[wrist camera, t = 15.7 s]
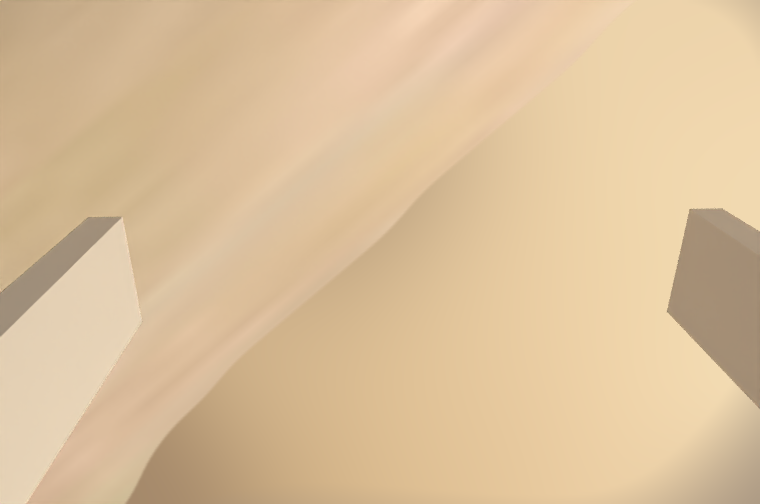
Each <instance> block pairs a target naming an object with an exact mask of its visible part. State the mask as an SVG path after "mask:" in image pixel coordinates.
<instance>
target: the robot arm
mask: <svg viewBox="0 0 760 504" xmlns="http://www.w3.org/2000/svg"><path fill="white" fill-rule="evenodd" d="M667 312H668V313H669V314H670V315H671V316H672V317H673V318H674V319H675V321H676V322H677V323H678V324H679V325H680V326H681V327H682V328H683V329H684V330H685V331H686V332H687V333H688V334H689V335H690V336H691V337H692V338H693V339H694V340H695V341H696V342H697V344H698V345H699V346H700V347H701V348H702V349H703V350H704V351H705V352H706V353H707V354H708V355H709V356H710V357H711V358H712V359H713V360H714V361H715V362H716V364H717V365H718V366H720V368H721V369H722V370H723V371H724V372H725V373H726V374H727V375H728V376H729V377H730V378H731V379H732V380H733V381H734V382H735V383H736V384H737V386H739V387H740V389H741V390H742V391H743V392H744V393H745V394H746V395H747V396H748V397H749V398H750V399H751V400H752V401H753V402H754V403H755V404H756V405H757V406H758V407H759V408H760V232H759V231H758V230H756V229H755V228H753V227H751V226H750V225H748V224H746V223H745V222H743V221H741V220H740V219H738V218H736V217H735V216H733V215H732V214H730V213H728V212H727V211H725V210H723V209H690V210H689V215H688V219H687V224H686V228H685V233H684V237H683V242H682V247H681V251H680V255H679V260H678V264H677V269H676V273H675V278H674V283H673V287H672V291H671V296H670V300H669V305H668V309H667ZM141 323H142V318H141V313H140V307H139V302H138V297H137V291H136V286H135V281H134V275H133V270H132V265H131V259H130V254H129V249H128V244H127V238H126V233H125V228H124V222H123V217H88V218H87V219H86V220H85V221H83V222H82V223H81V224H80V225H79V226H78V227H76V228H75V229H74V230H73V231H72V232H71V233H69V234H68V235H67V236H66V237H65V238H64V239H63V240H61V241H60V242H59V243H58V244H57V245H56V246H54V247H53V248H52V249H51V250H50V251H49V252H47V253H46V254H45V255H44V256H43V257H42V258H40V259H39V260H38V261H37V262H36V263H35V264H33V265H32V266H31V267H30V268H29V269H28V270H27V271H25V272H24V273H23V274H22V275H21V276H20V277H18V278H17V279H16V280H15V281H14V282H13V283H11V284H10V285H9V286H8V287H7V288H6V289H4V290H3V291H2V292H1V293H0V504H26V503H27V502H28V500H29V499H30V497H31V495H32V494H33V492H34V491H35V489H36V488H37V486H38V484H39V483H40V481H41V480H42V478H43V477H44V475H45V473H46V472H47V470H48V469H49V467H50V466H51V464H52V463H53V461H54V459H55V458H56V456H57V455H58V453H59V452H60V450H61V448H62V447H63V445H64V444H65V442H66V441H67V439H68V437H69V436H70V434H71V433H72V431H73V430H74V428H75V426H76V425H77V423H78V422H79V420H80V419H81V417H82V416H83V414H84V412H85V411H86V409H87V408H88V406H89V405H90V403H91V401H92V400H93V398H94V397H95V395H96V394H97V392H98V390H99V389H100V387H101V386H102V384H103V383H104V381H105V379H106V378H107V376H108V375H109V373H110V372H111V370H112V369H113V367H114V365H115V364H116V362H117V361H118V359H119V358H120V356H121V354H122V353H123V351H124V350H125V348H126V347H127V345H128V343H129V342H130V340H131V339H132V337H133V336H134V334H135V332H136V331H137V329H138V328H139V326H140V325H141Z"/></svg>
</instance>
